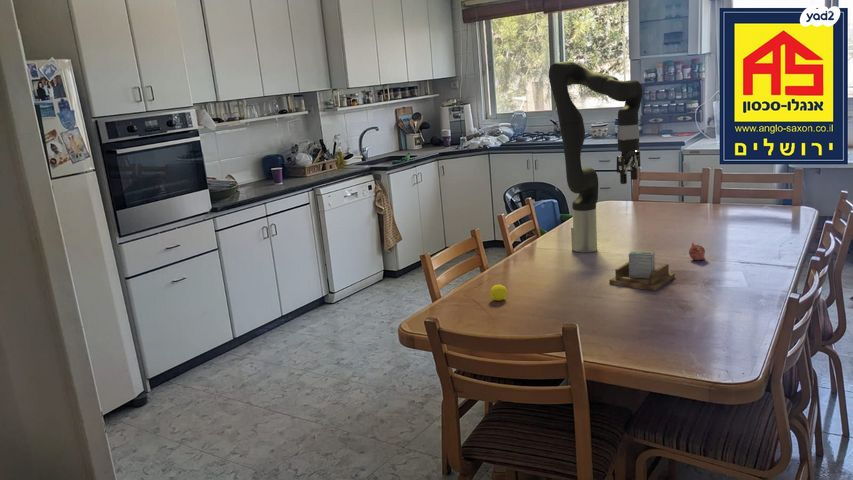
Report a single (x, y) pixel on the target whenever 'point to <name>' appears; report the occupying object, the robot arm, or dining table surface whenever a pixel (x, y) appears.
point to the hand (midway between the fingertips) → (628, 181)
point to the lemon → (498, 292)
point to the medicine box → (641, 264)
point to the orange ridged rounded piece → (697, 252)
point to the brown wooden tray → (653, 283)
